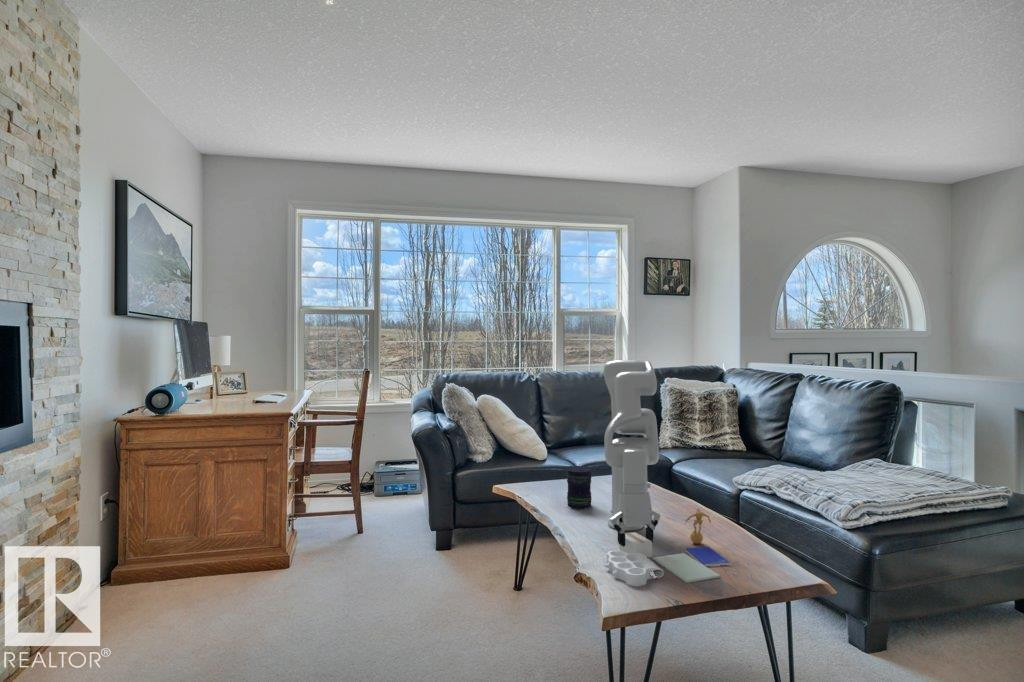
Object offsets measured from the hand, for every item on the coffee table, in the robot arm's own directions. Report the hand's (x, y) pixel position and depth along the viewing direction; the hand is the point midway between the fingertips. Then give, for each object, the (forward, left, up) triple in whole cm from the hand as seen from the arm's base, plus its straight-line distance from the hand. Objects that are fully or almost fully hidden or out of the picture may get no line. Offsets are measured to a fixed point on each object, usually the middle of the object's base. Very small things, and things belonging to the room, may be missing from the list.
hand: (635, 543), depth 170 cm
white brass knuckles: (+11, -8, -4) cm, 14 cm away
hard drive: (+9, +19, -4) cm, 22 cm away
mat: (+14, +8, -3) cm, 16 cm away
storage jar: (-52, +4, -4) cm, 52 cm away
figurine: (-1, +23, -4) cm, 24 cm away
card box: (-1, 0, -4) cm, 4 cm away
